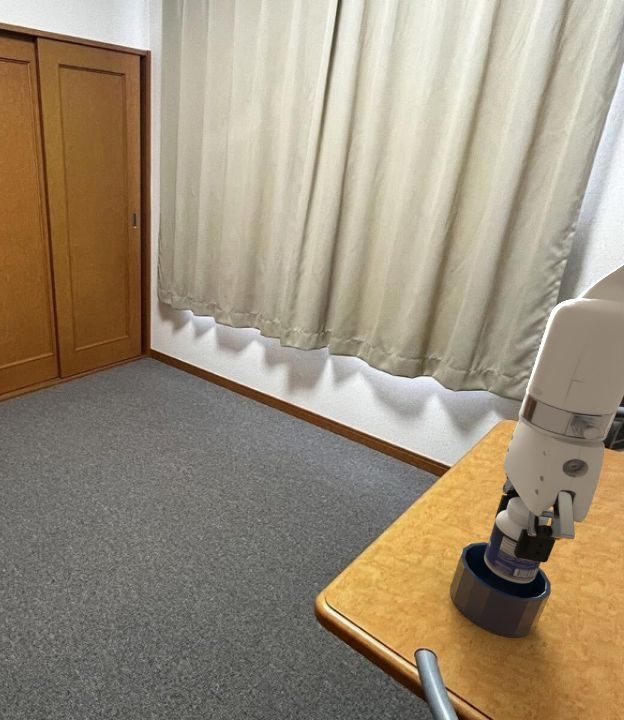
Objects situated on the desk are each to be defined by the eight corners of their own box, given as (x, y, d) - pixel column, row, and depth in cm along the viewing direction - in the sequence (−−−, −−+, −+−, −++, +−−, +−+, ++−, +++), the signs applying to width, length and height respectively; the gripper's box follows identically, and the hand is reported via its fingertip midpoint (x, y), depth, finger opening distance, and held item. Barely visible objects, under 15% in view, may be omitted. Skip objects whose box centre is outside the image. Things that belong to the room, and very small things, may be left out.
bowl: (517, 585, 66) (531, 550, 64) (548, 646, 58) (565, 609, 56) (441, 570, 69) (452, 536, 66) (461, 627, 61) (474, 590, 58)
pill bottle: (488, 545, 64) (507, 487, 61) (538, 566, 61) (561, 506, 57) (478, 568, 61) (497, 508, 57) (530, 592, 57) (554, 530, 54)
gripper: (660, 463, 43) (592, 604, 50) (567, 382, 58) (526, 500, 65) (561, 452, 45) (510, 589, 53) (496, 376, 60) (463, 491, 68)
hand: (519, 538), depth 59 cm, fingers closed on pill bottle, 5 cm apart
